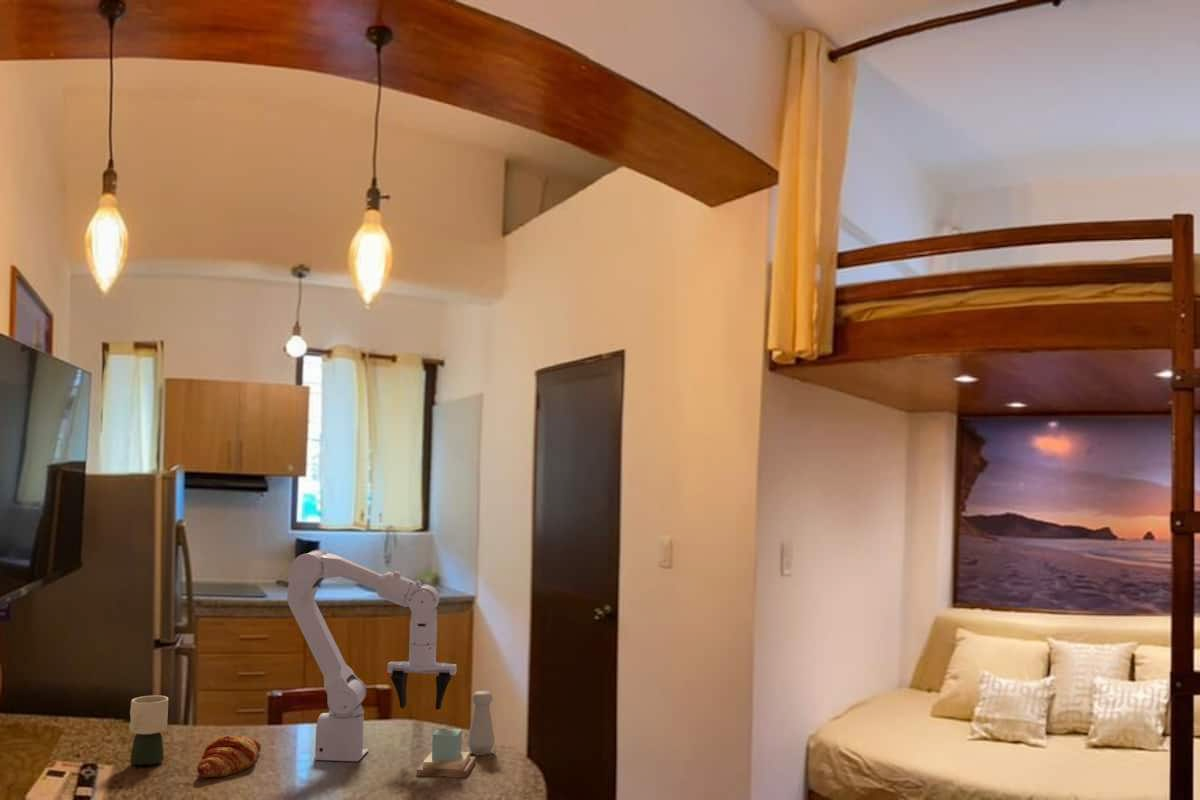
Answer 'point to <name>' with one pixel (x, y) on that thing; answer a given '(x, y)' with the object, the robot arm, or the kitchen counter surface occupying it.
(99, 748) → the kitchen counter surface
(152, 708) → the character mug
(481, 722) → the salt shaker
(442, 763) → the wooden base
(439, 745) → the teal block
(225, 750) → the croissant
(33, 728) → the kitchen counter surface
